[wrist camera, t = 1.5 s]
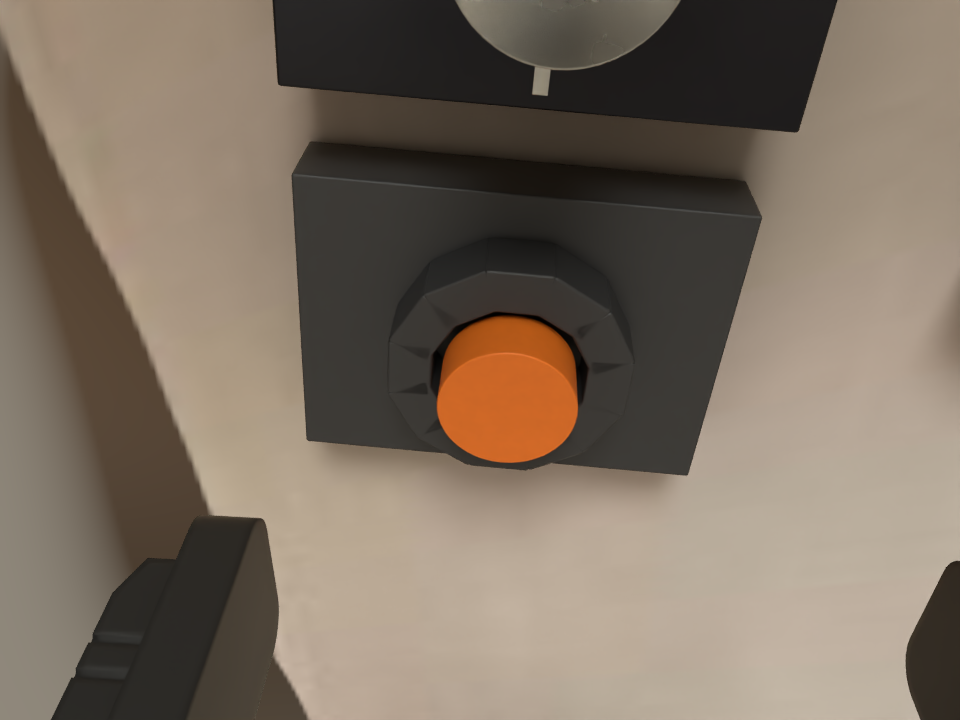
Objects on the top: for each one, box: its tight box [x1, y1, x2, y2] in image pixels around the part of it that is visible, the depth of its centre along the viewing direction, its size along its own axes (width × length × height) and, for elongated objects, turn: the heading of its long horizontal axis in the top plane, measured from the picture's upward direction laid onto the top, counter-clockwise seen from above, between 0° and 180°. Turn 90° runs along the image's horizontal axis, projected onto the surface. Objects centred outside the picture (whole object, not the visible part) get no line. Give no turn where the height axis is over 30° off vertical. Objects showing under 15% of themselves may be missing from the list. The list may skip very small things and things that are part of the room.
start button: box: [437, 315, 578, 463], centre depth 23 cm, size 4×4×2 cm
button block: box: [292, 142, 762, 475], centre depth 25 cm, size 12×9×4 cm
